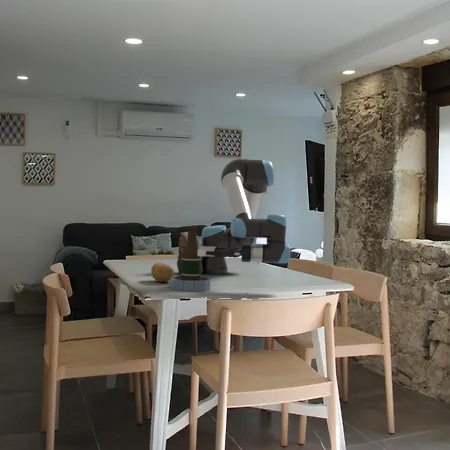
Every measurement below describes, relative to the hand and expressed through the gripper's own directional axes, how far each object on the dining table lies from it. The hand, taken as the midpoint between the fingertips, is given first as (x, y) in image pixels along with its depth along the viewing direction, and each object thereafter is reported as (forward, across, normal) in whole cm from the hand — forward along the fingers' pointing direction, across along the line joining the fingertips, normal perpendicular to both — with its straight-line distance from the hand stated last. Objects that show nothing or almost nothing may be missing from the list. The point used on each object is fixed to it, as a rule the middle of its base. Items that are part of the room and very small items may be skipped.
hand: (198, 251), depth 231 cm
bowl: (+3, 0, -15) cm, 15 cm away
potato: (+16, +14, -15) cm, 26 cm away
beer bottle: (+3, 0, -14) cm, 15 cm away
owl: (+7, +46, -15) cm, 49 cm away
